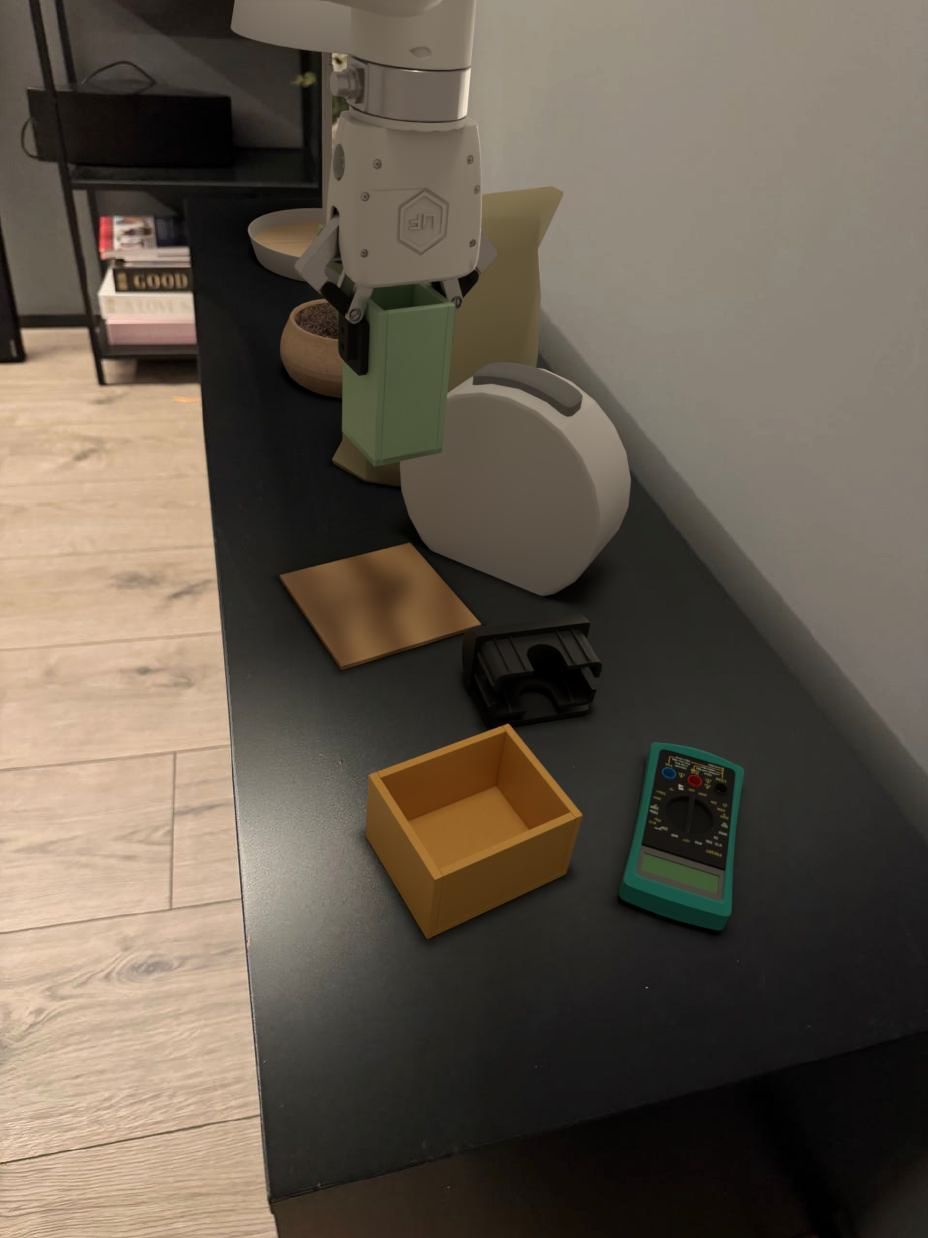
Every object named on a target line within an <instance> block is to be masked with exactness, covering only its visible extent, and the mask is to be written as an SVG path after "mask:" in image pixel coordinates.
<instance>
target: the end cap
mask: <svg viewBox="0 0 928 1238" xmlns="http://www.w3.org/2000/svg"><path fill="white" fill-rule="evenodd" d="M590 627H591V623H590V621H589V620H588V619H587V618H586V617H585V616H584V615H582V614H569V615H561V616H553V617H545V618H536V619H528V620H527V619H526V620H520V621H512V622H504V623H503V622H502V623H496V624H495V623H494V624H488V625H481V626H478V627H471V628H469V629H467V630H466V632H465V633H463V637H462V643H461V661H462V669H463V674H464V679H465V683H466V686H467V688H468V691H469V692H471V693H472V696H473V698H474V701H475V703H476V705H477V708H478V710H479V713H480V714H481V717H482V719H483V721H484V723H485V726H486V727H487V728H488V729H489V730H492V729H495V728H498V727H500V726H503V725H506V724H509V725H510V726H511V727H517V726H522V725H530V724H536V723H542V722H543V723H544V722H548V721H555V720H561V719H567V718H573V717H580V716H585V715H587V714H588V712H589V708H590V707H589V705H590V704H591V703H592V702H593V701H594V699H595V697H596V693H597V692H598V691H597V687H596V685H595V683H594V681H593V679H592V678H591V677H590V675H589V673H588V672H587V670H586V668H588V669H589V671H590V672H591V674H592V675H593V677H594V678H595V679H596V678H600V677H601V673H602V671H603V663H602V662H601V660H600V658H599V657H598V655H597V653H596V652H595V650H594V648H593V646H592V645H591V643H590V642H589V640H588V636H589V632H590Z"/></svg>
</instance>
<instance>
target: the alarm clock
mask: <svg viewBox="0 0 928 1238" xmlns="http://www.w3.org/2000/svg"><path fill="white" fill-rule="evenodd" d="M400 475H401V486H400V488H401V494H402V497H403V500H404V504H405V507H406V510H407V514H408V517H409V518H410V520H411V522H412V524H413V526H414V528H415V530H416V532H417V533H418V535H419V537H420V539H421V541H422V542H423V543H424V544H425V546H426V547H427V548H428V549H429V551H431V552H434V553H435V554H438V555H441V556H444V557H446V558H448V559H451V560H453V561H456V562H458V563H460V564H463V565H464V566H468V567H470V568H472V569H475V570H477V571H480V572H482V573H485V574H486V575H489V576H492V577H494V578H496V579H499V580H501V581H504V582H506V583H509V584H511V585H514V586H516V587H519V588H521V589H523V590H526V591H527V592H531V593H533V594H536V595H538V596H540V597H546V596H551V595H554V594H557V593H559V592H560V591H562V590H564V589H566V588H567V587H569V586H570V585H572V584H574V583H575V582H577V580H578V579H579V578H580V577H581V576H582V574H583V573H584V572H585V571H586V570H587V569H588V567H589V566H590V565H591V564H592V563H593V562H594V560H595V559H596V558H597V557H598V556H599V554H600V553H601V552H602V551H603V549H604V548H605V547H606V546H607V544H608V543H609V542H610V541H611V539H613V538H614V536H615V535H616V534H617V532H618V531H619V530H620V527H621V526H622V523H623V521H624V518H625V516H626V513H627V511H628V508H629V506H630V505H629V503H630V494H631V486H632V485H631V484H632V478H631V473H630V467H629V461H628V456H627V450H626V449H625V447H624V445H623V442H622V440H621V438H620V436H619V433H618V431H617V429H616V427H615V425H614V423H613V422H612V421H611V419H610V418H609V416H608V415H607V414H606V412H605V411H604V410H603V409H602V408H601V406H600V405H599V403H598V402H597V401H596V400H595V399H594V398H593V397H591V396H590V395H589V394H588V393H586V392H585V391H583V390H582V389H581V388H580V387H579V386H578V385H576V384H575V383H574V382H573V381H571V380H569V379H567V378H565V377H562V376H560V375H558V374H556V373H554V372H551V371H549V370H547V369H545V368H540V367H537V366H536V367H532V366H528V365H523V364H517V363H508V362H502V363H492V364H489V365H486V366H485V367H483V368H482V369H480V370H479V371H477V372H476V373H474V376H473V377H470V378H469V379H468V380H466V381H465V382H463V383H462V384H460V385H459V386H457V387H456V388H454V389H453V390H451V391H450V392H449V393H447V402H446V413H445V424H444V435H443V446H442V453H439V454H434V455H429V456H425V457H420V458H415V459H410V460H405V461H401V462H400Z"/></svg>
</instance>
